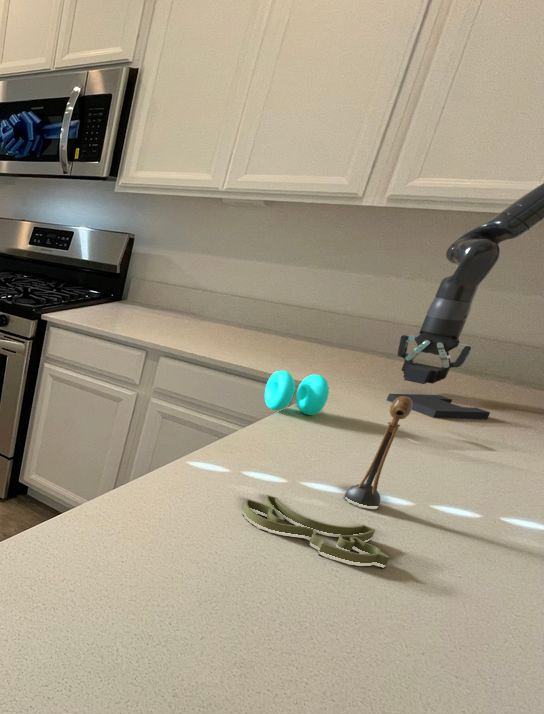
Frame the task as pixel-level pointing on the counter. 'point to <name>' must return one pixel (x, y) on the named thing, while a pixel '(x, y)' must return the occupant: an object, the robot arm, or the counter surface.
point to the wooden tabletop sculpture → (380, 456)
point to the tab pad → (421, 373)
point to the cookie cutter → (344, 541)
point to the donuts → (308, 393)
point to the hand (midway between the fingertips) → (421, 376)
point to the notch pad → (441, 407)
